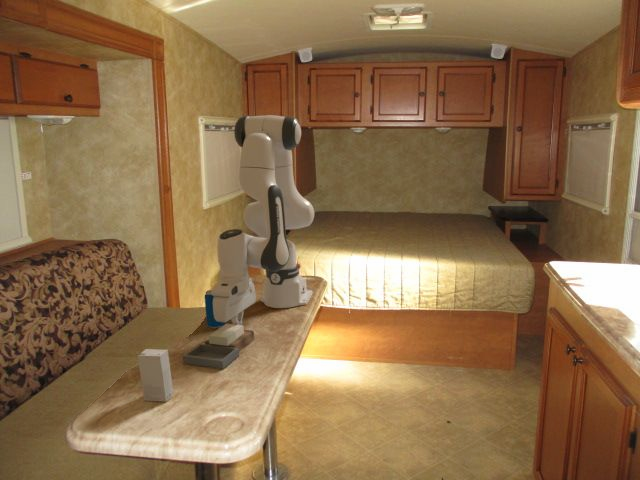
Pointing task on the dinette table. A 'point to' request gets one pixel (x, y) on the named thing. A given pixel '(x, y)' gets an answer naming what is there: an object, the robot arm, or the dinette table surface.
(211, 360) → the box
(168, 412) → the dinette table surface
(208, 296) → the beverage can
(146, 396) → the skincare box
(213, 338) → the tile front
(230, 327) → the tile back
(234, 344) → the walnut plate
